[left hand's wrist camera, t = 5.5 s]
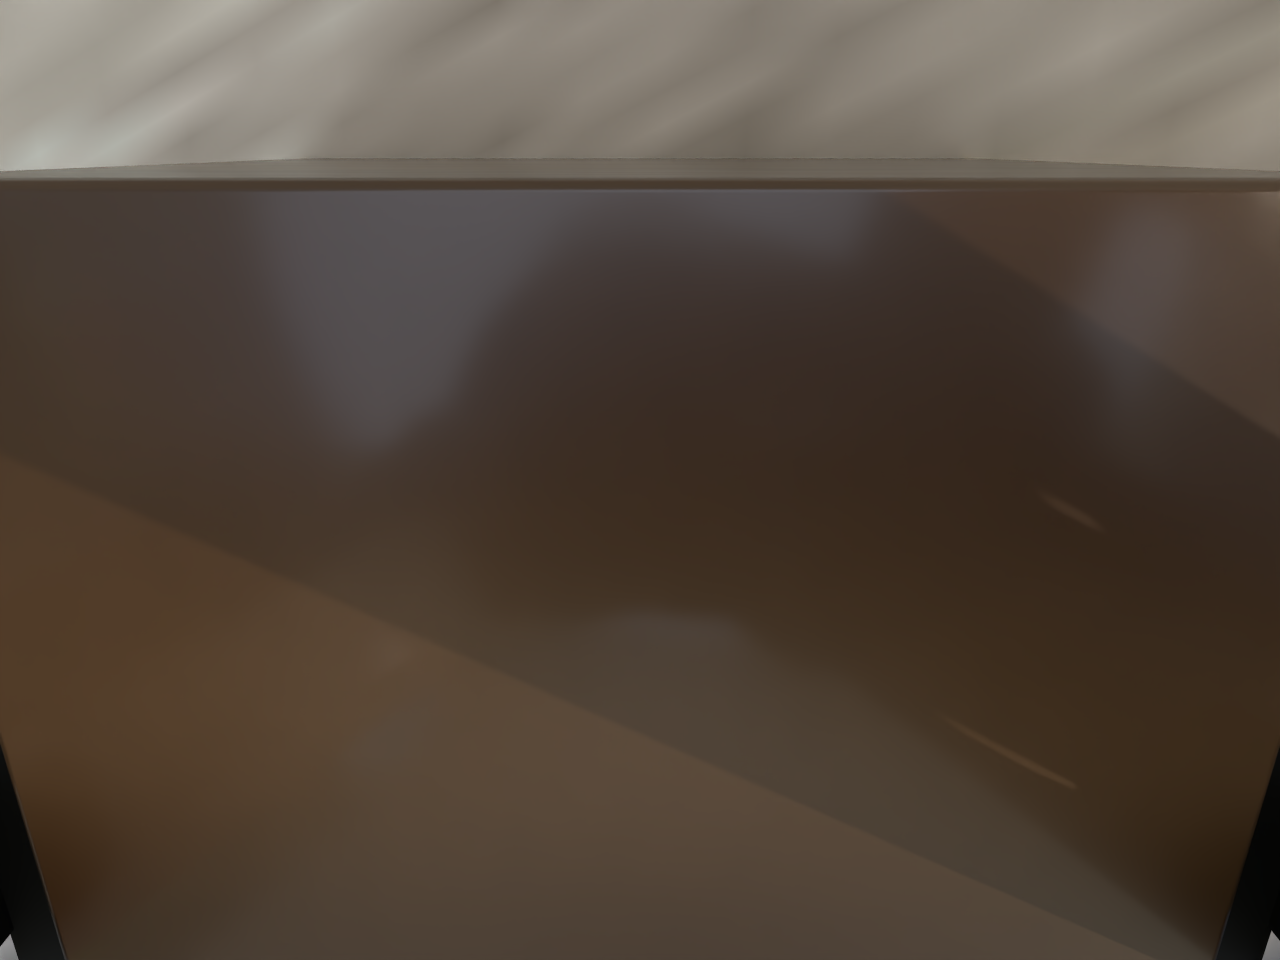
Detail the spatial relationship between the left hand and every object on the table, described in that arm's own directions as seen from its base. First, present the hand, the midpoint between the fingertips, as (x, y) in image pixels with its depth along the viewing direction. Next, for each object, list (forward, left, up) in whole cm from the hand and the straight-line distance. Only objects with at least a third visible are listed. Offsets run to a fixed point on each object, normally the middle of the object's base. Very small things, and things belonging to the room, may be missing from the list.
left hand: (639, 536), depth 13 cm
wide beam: (+8, +23, -1) cm, 25 cm away
